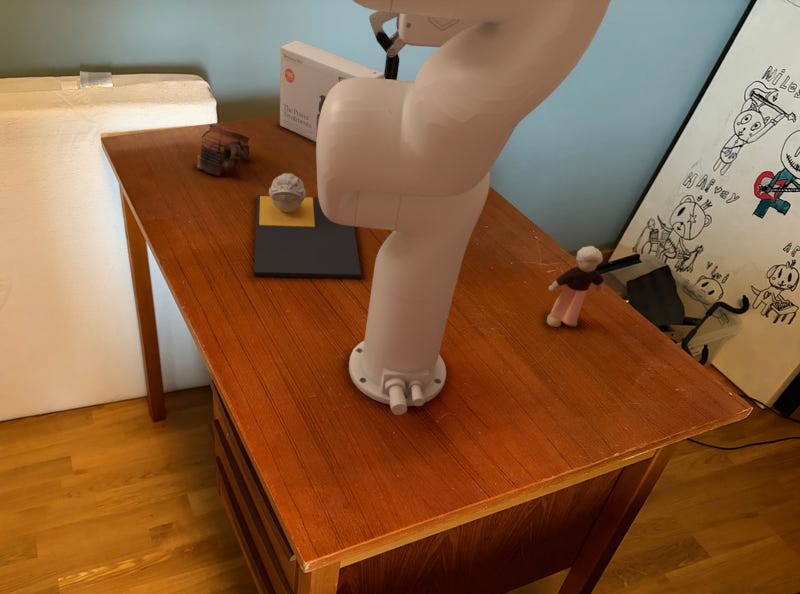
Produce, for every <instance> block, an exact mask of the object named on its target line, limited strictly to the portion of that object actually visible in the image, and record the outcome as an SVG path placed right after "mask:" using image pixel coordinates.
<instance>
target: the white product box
mask: <svg viewBox="0 0 800 594" xmlns="http://www.w3.org/2000/svg"><path fill="white" fill-rule="evenodd" d="M279 49H280V55H279V56H280V58H279V59H280V63H279V65H280V67H279V68H280V69H279V70H280V71H279V72H280V76H279V79H280V82H279V84H280V85H279V86H280V87H279V90H280V91H279V93H280V94H279V126H280V127H282V128H285V129H287V130H289V131H291V132H293V133H296V134H298V135H300V136H302V137H305V138H306V139H308V140H311V141H312V142H314V143H316V142H317V129H318V123H319V117H320V113H321V109H322V106H323V103H324V101H325V99H326V97H327V95H328V93H329V91H330V90H331V89H332V88H333V87H334V86H335V85H336V84H337V83H339V82H340V81H343V80H345V79H349V78H356V77H366V78H379V79H385V78H384V72H382V71H379V70H376V69H375V68H374V69H373V68H371V67H368V66H366V65H363V64H361V63H358V62H356V61H353V60H350V59H347V58H344V57H342V56H339V55H337V54H333V53H331V52H329V51H326V50H323V49H321V48H319V47H316V46H313V45H311V44H308V43H305V42H303V41H300V40H293V41H291V42H289V43H286V44H284V45H281V46H280V48H279Z"/></svg>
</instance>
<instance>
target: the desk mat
mask: <svg viewBox="0 0 800 594" xmlns="http://www.w3.org/2000/svg"><path fill="white" fill-rule="evenodd" d="M255 218H256V221H255V242H254V243H255V245H254V268H253V276H254V277H273V278H310V279H311V278H313V279H315V278H316V279H318V278H319V279H354V280H355V279H362V272H361V267H360V266H361V265H360V258H359V251H358V244H357V237H356V229H355V226H348V225H341V224H337V223H334V222H332V221H330V220H329V219H328V218H327V217H326V216H325V215H324V213H323V211H322V209H321V206H320V203H319V198H318V196H306V197H305V198H304V200H303V201H302V204H301V205H300V206H299V208H298V209H296V210H295V211H292V212H283V211H281V210H279V209H278V208H277V207H276V206H275V205H274V203H273V202H272V198H271V197H270V195H257V196H256V217H255Z"/></svg>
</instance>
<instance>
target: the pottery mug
mask: <svg viewBox="0 0 800 594" xmlns="http://www.w3.org/2000/svg"><path fill="white" fill-rule="evenodd" d="M249 140H250V137H249V136H247V135H245V134H243V133H240V132H237V131H235V130H233V129H232V130H231V129H229V128H226V127H223V126H219V125H217V124H213V123H211V124H209V130H207V131H205V132H204V134H203V135H201V144H202V145H201V147H200V154H198V155H197V158H196V167H197V169H199V170H202V171H204V172H205V173H207V174H211V175H212V176H217V177H220V176H221V172H222V169H223V170H224V172H226V173H232V172H235V171H236V170H237V168H238V167H239V164H240V163H241V160H242V157H243V160H244V161H249V160H250V156H251V155H250V153H251V152H250V145H249ZM221 147H223V150H222V151H221Z"/></svg>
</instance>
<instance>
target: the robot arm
mask: <svg viewBox="0 0 800 594" xmlns="http://www.w3.org/2000/svg"><path fill="white" fill-rule="evenodd" d="M352 1H353V2H354V3H355V4H358V5H359V6H361V7H363V8H365V9H369V10H372V11H375V12H373V13H371V14H370V15H369V16H368V20H369V23H370V26H371V29H372V31H373V35H374V37H375V40H376V42H377V43H378V44H379V46H380V47H381V48H382V50H383V51H384V52H385V53H386V56H385V63H384V72H383V73H384V79H379V78H366V77H356V78H349V79H345V80H343V81H340V82H339V83H337V84H336V85H335V86H334V87H333V88H332V89H331V90H330V91H329V93H328V95H327V97H326V99H325V101H324V103H323V106H322V109H321V113H320V117H319V123H318V129H317V142H315V143H316V145H315V157H316V159H315V160H316V161H315V163H316V183H317V184H316V187H317V197H318V198H319V203H320V206H321V209H322V211H323V213H324V215H325V216H326V217H327V218H328V219H329V220H330V221H332V222H334V223H337V224H341V225H348V226H354V228H355V227H356V228H364V229H375V230H383V231H384V230H385V231H391V233H390V234H389V235H388V236H387V238H386V239H385V240H384V241H383V243H382V245H381V246H380V248H379V249H378V251H377V255H376V258H375V260H374V262H375V263H374V269H373V275H372V283H371V290H370V297H369V304H368V310H367V311H368V312H367V319H366V325H365V333H364V339H363V340H362V341H360V342H359V343H358V344H356V346H355V347H354V348H353V349H352V352H351V353H350V356H349V361H348V373H349V377H350V378H351V380H352V383H353V384H354V385H355V386H356V387H357V389H358V390H359V391H360V392H362V393H363V394H364V395H365V396H367V397H369V398H370V399H372V400H374V401H377V402H379V403H382V404H385V405H389V407H390V411H391V414H393V415H395V416H400V415H404V414H405V413H406V412H407V411H408V407H413V406H415V407H421V406H423V405H424V404H425V403H427V402H429V401H431V400H433V399H434V398H435V397H437V396H438V394H440V392H441V391H442V389H443V388H444V385H445V382H446V378H447V367H446V364H445V362H444V359H443V357H442V356H441V355H440V351H441V347H442V343H443V338H444V335H445V331H446V326H447V322H448V318H449V315H450V310H451V306H452V302H453V298H454V295H455V289H456V286H457V284H458V283H457V282H458V279H459V275H460V271H461V267H462V263H463V261H464V257H465V252H466V251H467V247H468V244H469V242H470V239H471V237H472V234H473V232H474V230H475V227H476V225H477V223H478V221H479V219H480V217H481V214H482V212H483V210H484V207H485V205H486V202H487V199H488V195H489V190H490V186H491V173H490V170H491V169H492V168H493V166H494V165H495V163H496V161H497V159H498V158H499V157H500V155H501V153H502V152H503V150H504V148H505V147H506V145H507V143H508V142H509V140H510V139H511V136H512V135H513V133H514V131H515V129H516V127H517V126H518V125H519V124H520V123H521V122H522V121H523V120H524V119H525V118H526V117H527V116H528V115H530V114H531V113H532V112H533V111H534V110H535V109H536V108H537V107H539V106H540V105H541V104H542V103H544V101H545V100H547V99H548V98H549V96H551V95H552V93H553V92H555V91H556V89H558V87H560V85H561V84H562V83H563V82H564V81H565V80H566V79H567V77H569V75H571V73H572V71H573V70H574V69H575V68H576V66H577V65H578V64H579V62H580V61H581V60H582V58H583V57H584V55H585V54H586V52H587V50H588V48H589V47H590V46H591V44H592V42H593V39H594V38H595V36H596V34H597V33H598V31H599V29H600V27H601V24H602V22H603V21H604V19H605V16H606V13H607V10H608V8H609V6H610V3H611V2H612V0H352ZM395 18H396V22H395V23H396V31H395V32H394V33H393V34H392V35H391V36H390V37H389V36H388V34H387V33H386V32H385V30H384V27H383V26H384V24H385V23H387V22H389V21H391V20H393V19H395ZM405 46H412V47H424V48H425V47H428V48H438V49H436V50H435V51H434V52H432V54H431V55H430V56H429V57H428V58H427V59H426V61H425V62H424V63H423V65H421V67H420V69H419V71H418V73H417V75H416V76H415V80H413V81H411V80H400V79H398V75H399V67H400V55H399V52H400V51H402V50H403V48H404V47H405Z"/></svg>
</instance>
